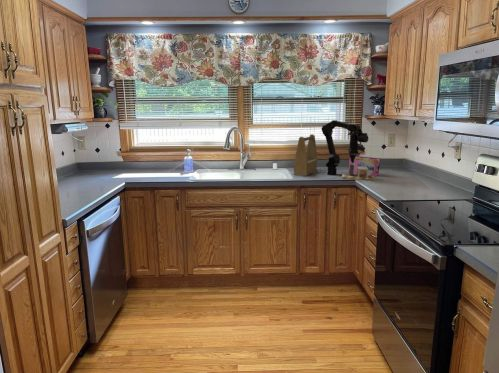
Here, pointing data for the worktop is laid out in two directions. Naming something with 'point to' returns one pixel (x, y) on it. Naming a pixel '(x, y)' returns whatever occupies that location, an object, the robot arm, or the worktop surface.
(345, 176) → the board
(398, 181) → the worktop surface
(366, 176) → the tunnel
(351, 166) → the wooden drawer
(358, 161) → the gum box
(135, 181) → the worktop surface
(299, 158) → the caddy
